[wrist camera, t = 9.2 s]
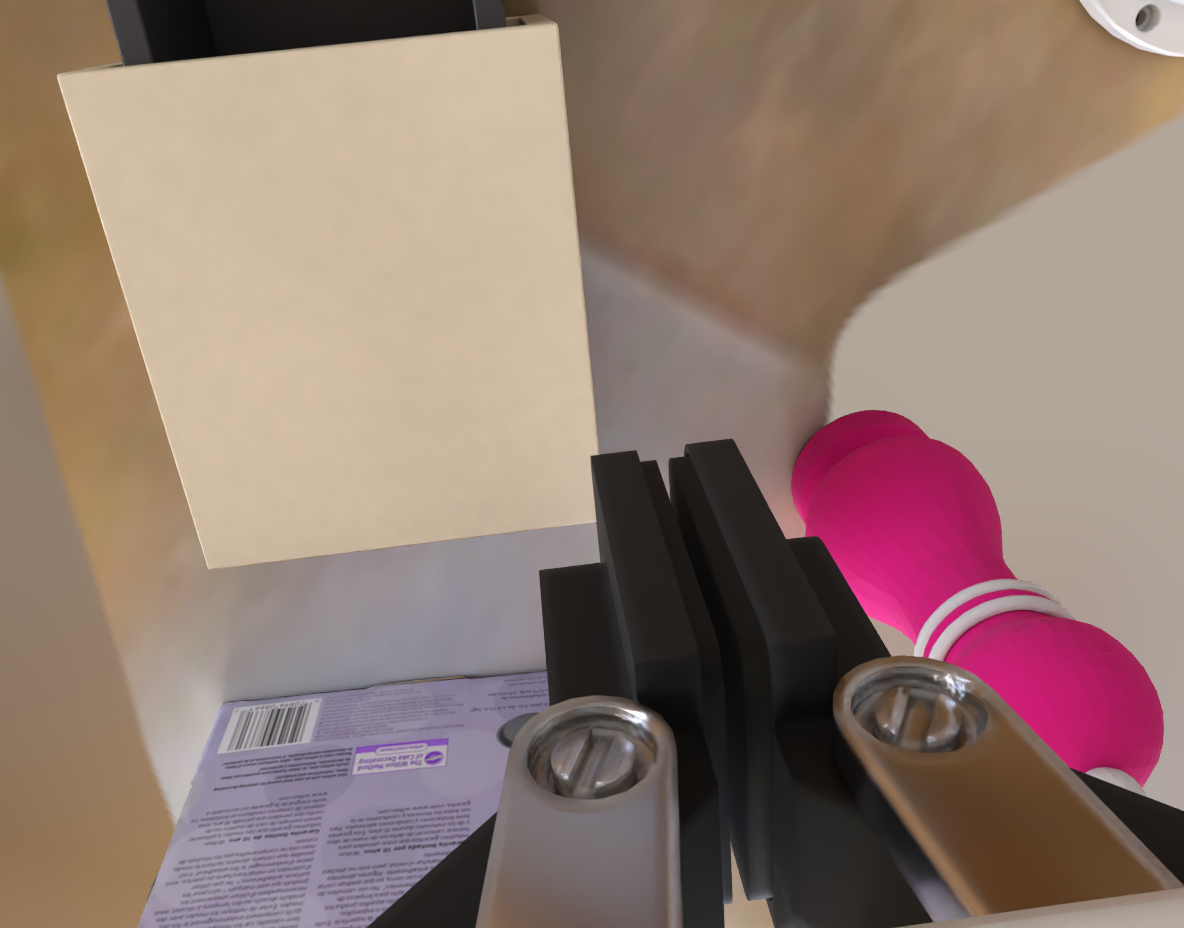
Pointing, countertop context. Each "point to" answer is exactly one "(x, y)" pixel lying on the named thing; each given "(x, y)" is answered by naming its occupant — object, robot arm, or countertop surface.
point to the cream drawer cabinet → (353, 285)
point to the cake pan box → (337, 800)
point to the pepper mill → (971, 591)
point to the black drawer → (282, 24)
